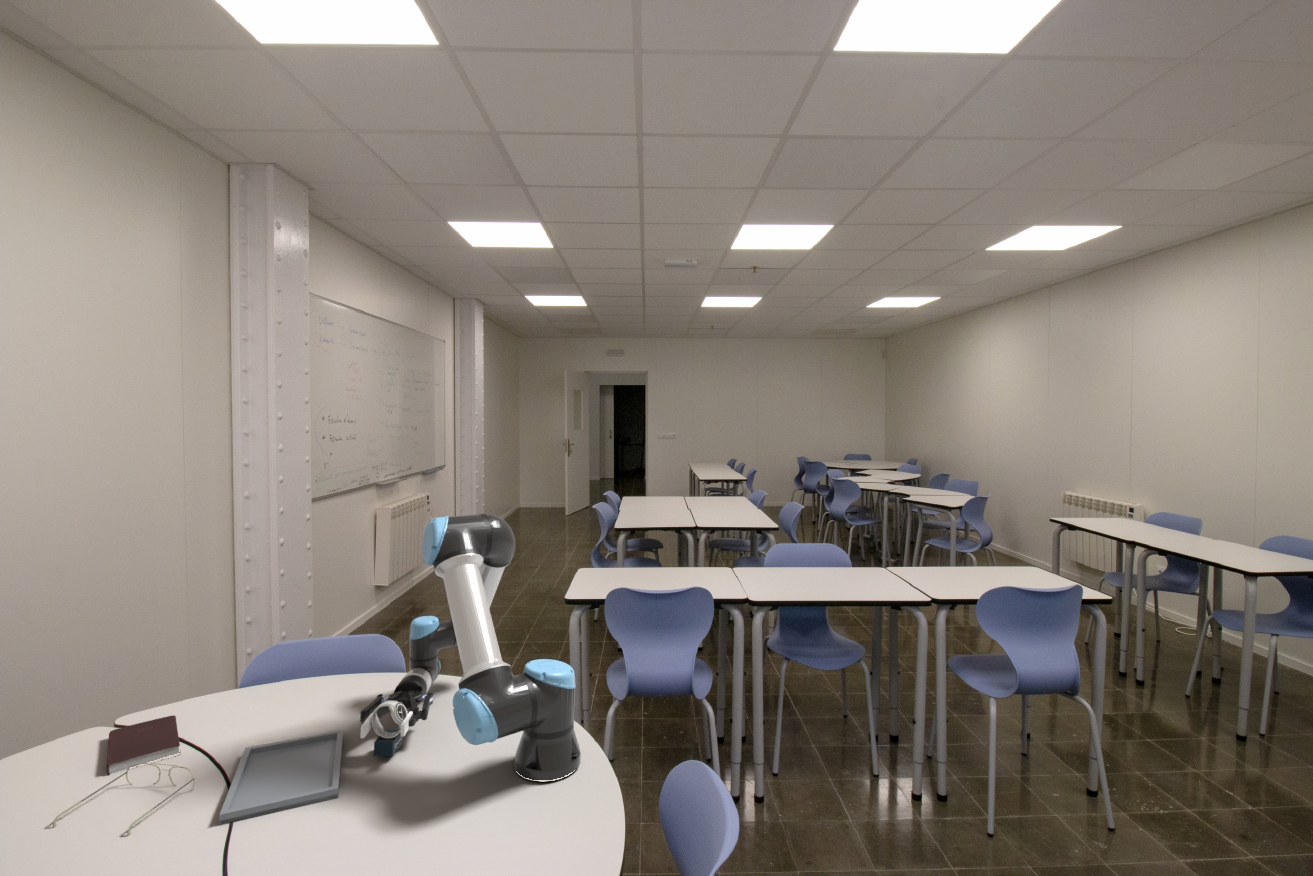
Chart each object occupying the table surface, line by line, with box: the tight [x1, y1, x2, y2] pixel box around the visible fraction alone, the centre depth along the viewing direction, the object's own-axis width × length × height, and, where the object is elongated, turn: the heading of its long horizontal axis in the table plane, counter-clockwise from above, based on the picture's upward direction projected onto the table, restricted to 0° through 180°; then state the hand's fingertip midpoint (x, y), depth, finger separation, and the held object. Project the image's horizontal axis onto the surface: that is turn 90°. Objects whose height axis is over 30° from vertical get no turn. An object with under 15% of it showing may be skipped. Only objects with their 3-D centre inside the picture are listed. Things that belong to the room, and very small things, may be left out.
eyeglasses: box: [52, 762, 196, 837], centre depth 114 cm, size 16×15×5 cm
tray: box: [218, 729, 344, 826], centre depth 126 cm, size 26×20×2 cm
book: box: [106, 715, 181, 776], centre depth 135 cm, size 12×19×3 cm, turn 43°
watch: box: [371, 700, 409, 757], centre depth 135 cm, size 6×8×11 cm
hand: (382, 731), depth 130 cm, fingers closed on watch, 8 cm apart
